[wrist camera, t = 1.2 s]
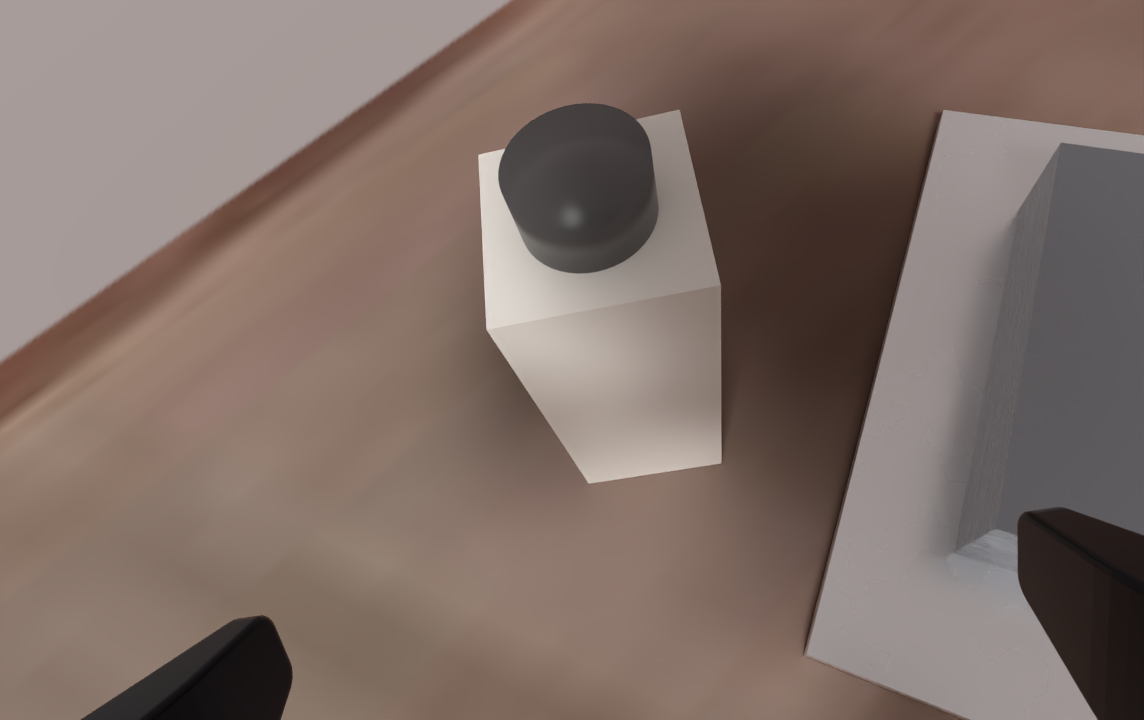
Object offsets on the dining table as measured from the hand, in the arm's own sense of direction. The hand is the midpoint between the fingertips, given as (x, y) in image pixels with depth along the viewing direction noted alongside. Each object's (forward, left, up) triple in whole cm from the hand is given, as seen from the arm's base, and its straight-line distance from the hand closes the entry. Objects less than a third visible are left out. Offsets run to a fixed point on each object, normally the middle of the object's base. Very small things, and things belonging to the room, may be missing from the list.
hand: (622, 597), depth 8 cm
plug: (+6, -4, -13) cm, 15 cm away
